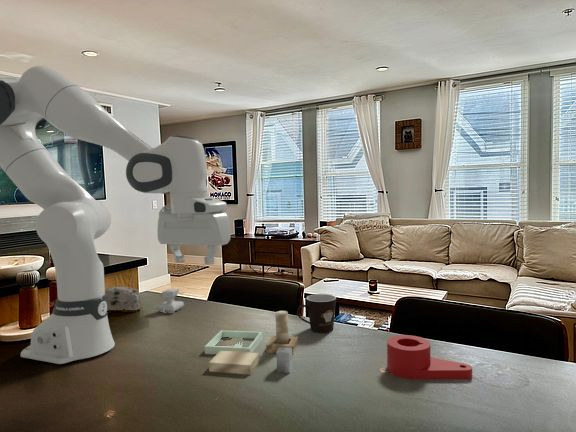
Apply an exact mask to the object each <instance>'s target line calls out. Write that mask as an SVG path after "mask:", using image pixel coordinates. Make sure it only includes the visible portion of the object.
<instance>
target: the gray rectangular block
mask: <svg viewBox="0 0 576 432" xmlns="http://www.w3.org/2000/svg"><path fill="white" fill-rule="evenodd" d="M275 354H276V372H277V373H282V374H283V373H284V374H290V373H291V372H292V369H293V354H292V348H287V347H279V348H278V350H277V352H276V353H275Z"/></svg>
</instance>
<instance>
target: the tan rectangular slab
mask: <svg viewBox="0 0 576 432" xmlns="http://www.w3.org/2000/svg"><path fill="white" fill-rule="evenodd" d="M259 364H260V352H253V353H251V352H234V351H219V352H218V353H217V354H216V355H215V356H213V357H212V358H211V359H210V360H209V361H208V371H209V372H212V373H223V374H235V373H236V375H246V374H247V375H250V376H251V375H252V374H253V372H254V371H255V370H256V368H257V367H258V365H259Z"/></svg>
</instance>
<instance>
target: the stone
mask: <svg viewBox="0 0 576 432" xmlns="http://www.w3.org/2000/svg"><path fill="white" fill-rule="evenodd" d="M105 293H107V301H108V310H123V309H125V310H137V309H139V308H140V309H141V306H140V305H141V303H140V301H139V300H140V291H139V290H138V289H135V288H133V287H130V286H109V287H107V289H105Z"/></svg>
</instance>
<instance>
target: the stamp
mask: <svg viewBox="0 0 576 432" xmlns="http://www.w3.org/2000/svg"><path fill="white" fill-rule="evenodd" d="M179 290H180V289H178V288H167V289H164V290H162V292H161V294H162V298H164V299H166V301H164V302H162V303H160V304H158V305H157V307H156V310H157V311H158V312H159V311H163V314H166V313H165V312H175V311H176V310H178V309H180V308H182V307H183V308H184V306H185V303H184V301H182V300H181V301H180V300H175V297H177V296H178V294H179V292H180V291H179ZM183 308H182V309H183ZM175 313H176V312H175Z"/></svg>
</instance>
